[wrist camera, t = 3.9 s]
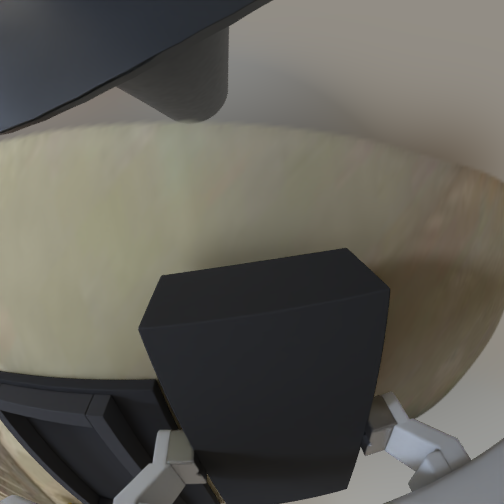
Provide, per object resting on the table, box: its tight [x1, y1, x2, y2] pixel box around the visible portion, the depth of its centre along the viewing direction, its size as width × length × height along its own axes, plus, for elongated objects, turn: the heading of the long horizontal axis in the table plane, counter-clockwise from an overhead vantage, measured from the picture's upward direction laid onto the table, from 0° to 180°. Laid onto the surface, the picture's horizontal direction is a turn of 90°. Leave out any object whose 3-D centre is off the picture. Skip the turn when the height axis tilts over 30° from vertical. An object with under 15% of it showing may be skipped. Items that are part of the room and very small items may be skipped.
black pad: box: [138, 248, 390, 504], centre depth 10 cm, size 12×6×3 cm, turn 7°
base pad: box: [0, 371, 220, 504], centre depth 14 cm, size 16×14×2 cm
